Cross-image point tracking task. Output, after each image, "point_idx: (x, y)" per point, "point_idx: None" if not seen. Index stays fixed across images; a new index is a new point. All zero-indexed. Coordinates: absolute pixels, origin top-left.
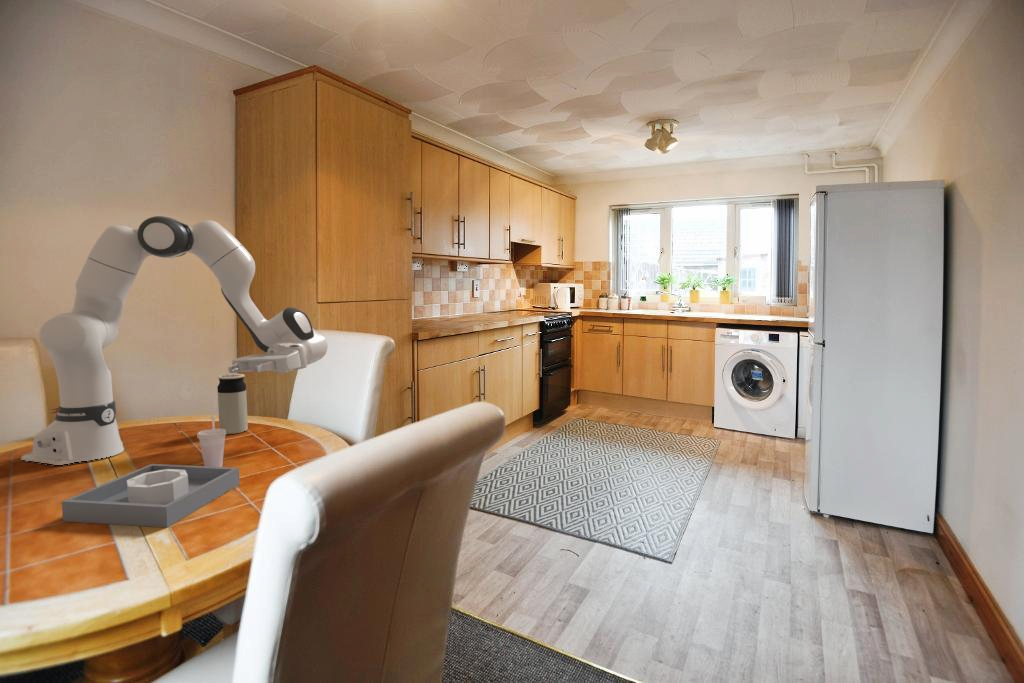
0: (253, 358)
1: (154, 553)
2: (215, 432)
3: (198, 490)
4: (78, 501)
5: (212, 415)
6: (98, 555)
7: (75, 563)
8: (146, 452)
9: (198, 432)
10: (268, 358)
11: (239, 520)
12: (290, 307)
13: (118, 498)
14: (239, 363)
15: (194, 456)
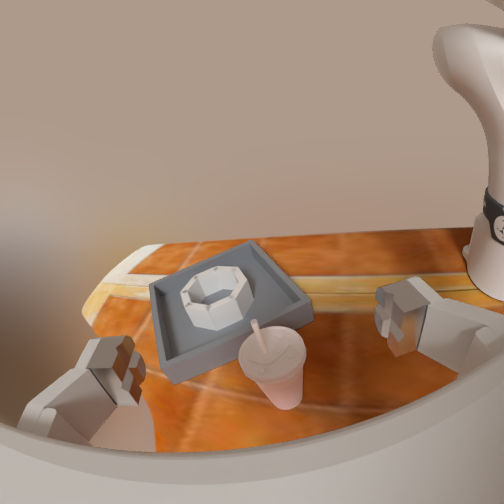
0: (392, 444)
1: (135, 286)
2: (251, 351)
3: (152, 311)
4: (237, 246)
5: (252, 321)
6: (168, 267)
7: (172, 260)
8: None
9: (290, 329)
10: (45, 445)
11: (109, 334)
12: None
13: (258, 281)
14: (475, 336)
15: (409, 392)
